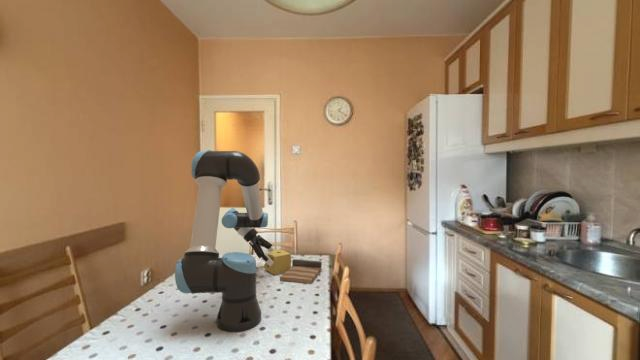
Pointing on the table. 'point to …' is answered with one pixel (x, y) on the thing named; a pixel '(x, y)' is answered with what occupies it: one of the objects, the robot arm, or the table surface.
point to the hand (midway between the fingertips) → (275, 260)
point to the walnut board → (302, 271)
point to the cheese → (278, 262)
